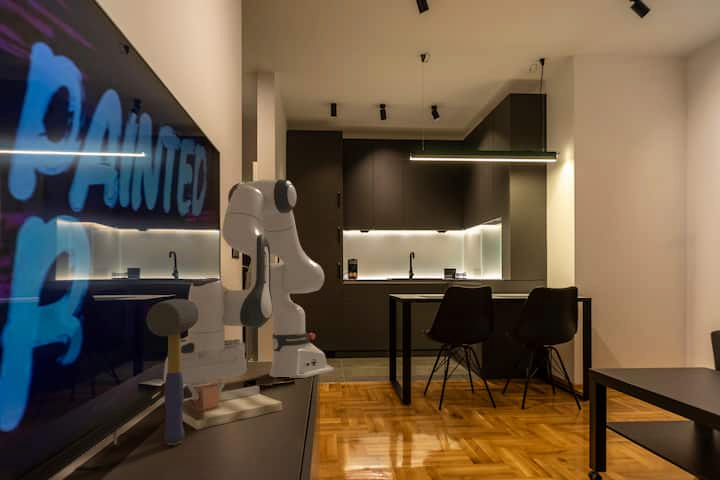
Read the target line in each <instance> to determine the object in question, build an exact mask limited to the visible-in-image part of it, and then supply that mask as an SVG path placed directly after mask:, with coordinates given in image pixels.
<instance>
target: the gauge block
mask: <svg viewBox="0 0 720 480" xmlns="http://www.w3.org/2000/svg"><path fill="white" fill-rule="evenodd" d="M195 391H196V392H199V393H201V396H200V398H201V399H200V400H199V401H196V406H197V407H199V408H201V409H203V410H205V409H210V408H214V407H219V386H218V384H214V383H212V382H210V383H205V384H196V387H195Z"/></svg>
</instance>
